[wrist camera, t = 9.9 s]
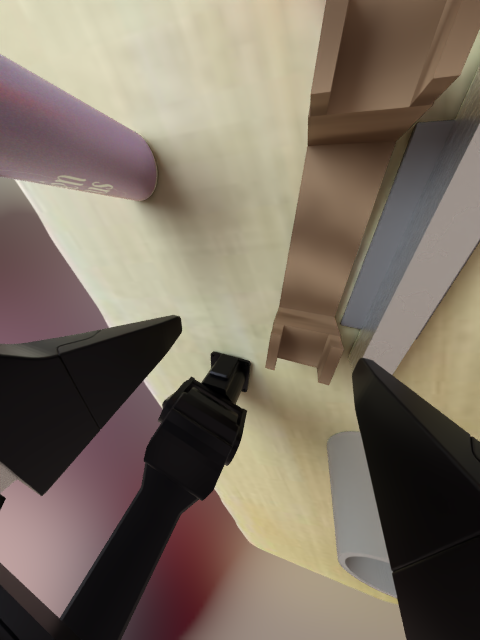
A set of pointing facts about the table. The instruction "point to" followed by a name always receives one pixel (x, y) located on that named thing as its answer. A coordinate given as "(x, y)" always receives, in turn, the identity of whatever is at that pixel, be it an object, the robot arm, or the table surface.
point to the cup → (357, 514)
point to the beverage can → (68, 140)
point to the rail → (429, 245)
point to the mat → (397, 217)
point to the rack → (358, 149)
